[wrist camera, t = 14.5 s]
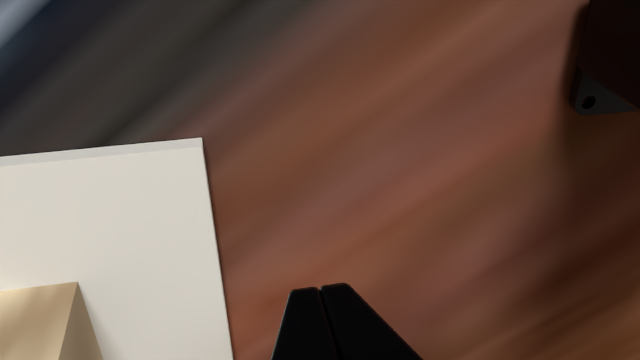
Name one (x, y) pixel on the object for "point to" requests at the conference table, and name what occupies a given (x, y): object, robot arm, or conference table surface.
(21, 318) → the maple block
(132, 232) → the mat
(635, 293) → the conference table surface
